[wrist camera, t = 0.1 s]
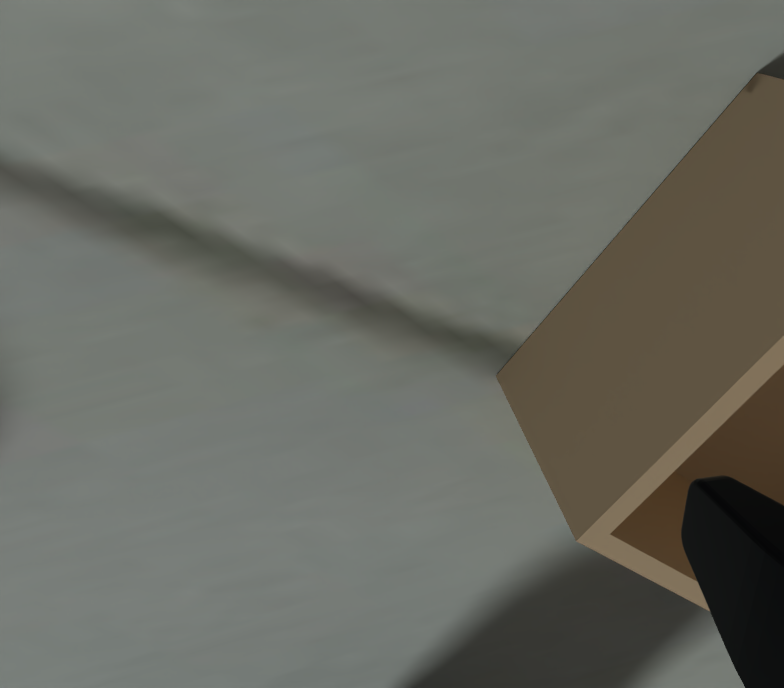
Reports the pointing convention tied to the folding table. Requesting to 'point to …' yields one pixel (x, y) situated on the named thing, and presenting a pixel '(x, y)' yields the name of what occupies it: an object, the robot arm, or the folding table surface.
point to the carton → (669, 351)
